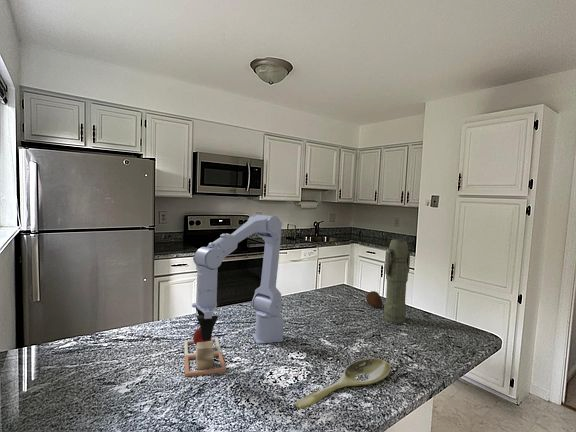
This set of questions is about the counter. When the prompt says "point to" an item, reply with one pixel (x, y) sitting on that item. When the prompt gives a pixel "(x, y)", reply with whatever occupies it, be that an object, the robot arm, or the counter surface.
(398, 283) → the thermos
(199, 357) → the birch block
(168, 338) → the counter surface
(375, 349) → the counter surface
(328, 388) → the spoon
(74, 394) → the counter surface
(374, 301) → the potato
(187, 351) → the cream frame
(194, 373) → the terracotta frame
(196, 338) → the onion
